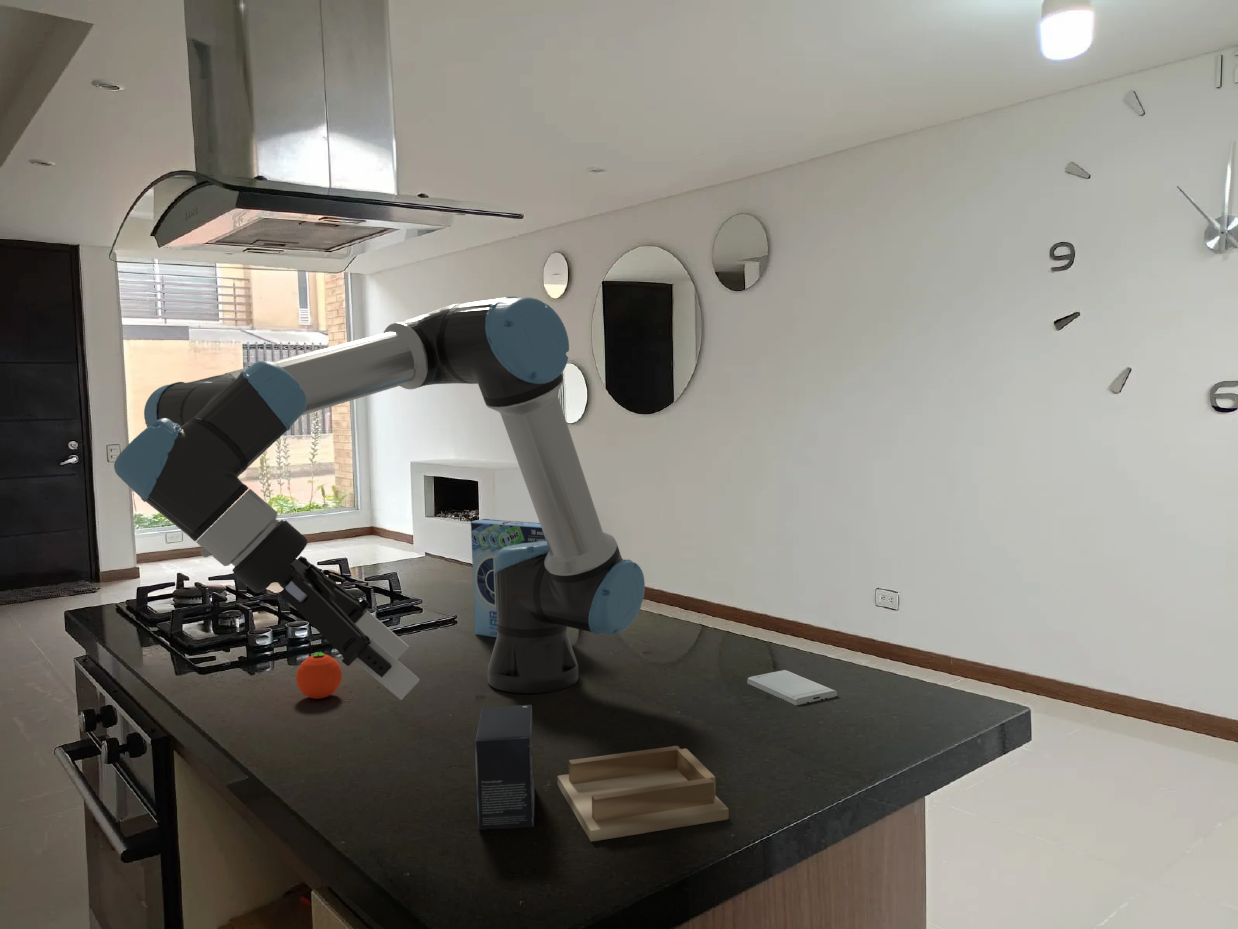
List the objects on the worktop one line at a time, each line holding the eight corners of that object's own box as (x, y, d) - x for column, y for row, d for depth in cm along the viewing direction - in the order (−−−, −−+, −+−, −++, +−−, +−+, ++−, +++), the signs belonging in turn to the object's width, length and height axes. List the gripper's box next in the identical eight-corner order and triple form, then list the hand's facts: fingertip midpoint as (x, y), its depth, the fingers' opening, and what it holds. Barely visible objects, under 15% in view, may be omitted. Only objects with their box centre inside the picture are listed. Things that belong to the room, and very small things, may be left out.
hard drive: (747, 677, 151) (795, 698, 140) (786, 669, 155) (837, 689, 144) (747, 687, 151) (796, 708, 140) (786, 679, 155) (837, 699, 144)
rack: (557, 785, 113) (557, 755, 112) (680, 768, 117) (679, 739, 117) (590, 841, 98) (590, 808, 98) (728, 819, 103) (728, 787, 103)
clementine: (299, 690, 150) (297, 648, 150) (343, 687, 152) (342, 644, 151) (294, 706, 142) (293, 661, 142) (341, 702, 144) (340, 658, 143)
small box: (481, 790, 112) (479, 705, 111) (535, 787, 112) (533, 703, 111) (475, 831, 101) (473, 738, 100) (534, 828, 102) (533, 735, 101)
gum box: (567, 641, 178) (565, 524, 176) (552, 648, 174) (549, 527, 172) (489, 629, 188) (486, 517, 186) (472, 635, 184) (469, 521, 182)
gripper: (239, 551, 108) (375, 666, 113) (214, 593, 84) (387, 736, 89) (286, 504, 109) (418, 620, 114) (274, 532, 85) (442, 677, 91)
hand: (405, 671), depth 102 cm, fingers open, 13 cm apart
